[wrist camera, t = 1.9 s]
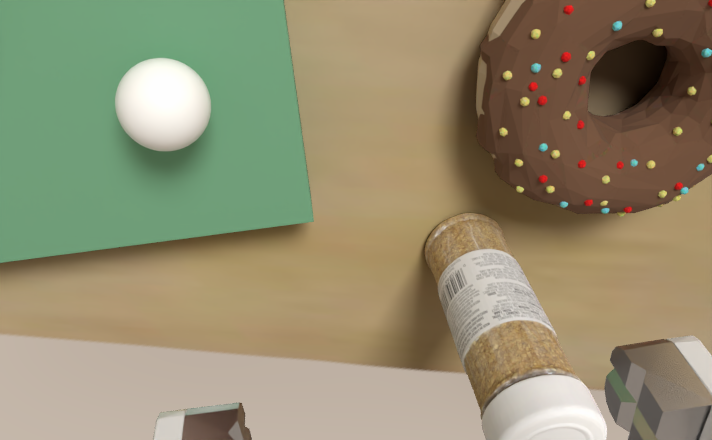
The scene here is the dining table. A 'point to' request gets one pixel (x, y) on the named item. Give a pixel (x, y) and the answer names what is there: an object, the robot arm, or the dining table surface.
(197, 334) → the dining table surface
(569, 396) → the sprinkles bottle
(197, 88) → the white ball
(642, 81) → the dining table surface
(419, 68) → the dining table surface
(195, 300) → the dining table surface
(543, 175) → the donut
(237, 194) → the putting mat
